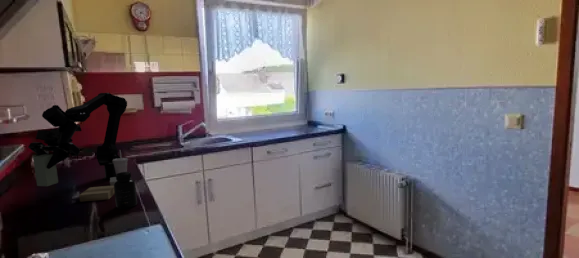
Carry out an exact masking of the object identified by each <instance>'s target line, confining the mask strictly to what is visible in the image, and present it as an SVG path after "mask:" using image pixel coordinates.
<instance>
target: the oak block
mask: <svg viewBox="0 0 579 258" xmlns="http://www.w3.org/2000/svg"><path fill="white" fill-rule="evenodd" d="M78 196H79V202H82V203H83V202H91V201H93V202H94V201H95V202H96V201H105V200H106V201H107V200H110V198H112V197H113V196H115V193H114V185H113V186H110V185H103V186H102V185H101V186H93V187H92V186H90V187H88V188H87V189H86V190H84V191H83V192H81V193H80V194H79V195H78Z"/></svg>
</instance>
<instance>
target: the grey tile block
mask: <svg viewBox="0 0 579 258" xmlns="http://www.w3.org/2000/svg"><path fill="white" fill-rule="evenodd" d="M116 181H117V180H116V177H112V178H110V179H109V186H113V185H114V183H115V182H116Z"/></svg>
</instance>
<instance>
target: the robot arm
mask: <svg viewBox="0 0 579 258" xmlns="http://www.w3.org/2000/svg"><path fill="white" fill-rule="evenodd" d="M103 105H104V106H106V110H107V112H108V120H107V123H106V124H107V125H106V130H105V134H104V140H103V143H102V145H97V147H96V153H95V155H96V157H95V158H96V160H97V163H98V164H99V166H101V167H102V166H103V167H104V177H103V178H102V180H110V178H112V177H116V172H115V168H114V163H113V162H112V160H114V159H118V158H120V155H118V154H119V150H118V148H117V145H116V143H117V138H118V133H119V127H120V124H121V123H120V121H121V118H122V117H121V116H122V115H123V114H124V113H125V112H126V110H127V107H128V101H127V99H126V98H124V97H123V96H122V97H121V96H118V95H114V94H112V93H110V92H100V93H98V94H97V95H95V96H94V97H92V98H91V99H89V100H87V101H86V102H84V103H82V104H80V105H77V106H72V107H70V108H67V109H65V111H64V110H63V109H62V108H61V107H60V106H59V105H57V104H55V105H54V104H53V105H52V106H51V107H49V108H47V109H46V110H44V111H43V112H42V114H41V117H42V118H43V119H44V120H45V121H47V122H48V123H49V124H50V125H51V126H53V127H54V128H52V129H51V130H47V129H46V130H45V129H44V130H43V129H41V130H40V129H38V130H37V133H36V136H35V139H36V140H41V141H43V142H41V141H40V142H38V141H35V142H30V143H29V144H28V147H27V149H28V150H30V151H32V152H34V153H35V154H36V156H40V155H44V154H49V153H50V152H52V154H53V155H52V157H51V159H50V161H49V163H48V165H47V168H48V169H50V168H51V167H53V166H54V165H56V166H57V164H59V163H60V162H62V161H64V160H66V159H69V158H70V156H71V157H78V156H79V155H80V154H81V149H80V148H79V147H78V146H77V145H76V144H75V143H73V139H72V137H73V136H74V134H75V133H76V132H82V128H81V125H80V124H77V123H84V122H86V121H88V119H89V117H91V113H93V112H94V111H96V110H98V109H99V108H101V107H102V106H103ZM57 127H58V128H57ZM44 143H45V144H46V145H45V144H44Z"/></svg>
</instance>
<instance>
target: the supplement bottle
mask: <svg viewBox="0 0 579 258" xmlns="http://www.w3.org/2000/svg"><path fill="white" fill-rule="evenodd" d="M116 180H117V181H116V182H115V183H114V193H115V194H114V198H115V199H114V200H115V207H116V208H117V209H118V210H125V209H132V208H133V207H136V206H137V204H138V199H137V188H136V182H135V180H134V179H133V178H132V173H131V172H130V171H127V172H121V173H118V174H116Z"/></svg>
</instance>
